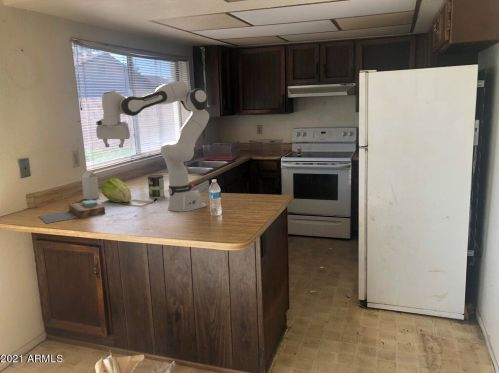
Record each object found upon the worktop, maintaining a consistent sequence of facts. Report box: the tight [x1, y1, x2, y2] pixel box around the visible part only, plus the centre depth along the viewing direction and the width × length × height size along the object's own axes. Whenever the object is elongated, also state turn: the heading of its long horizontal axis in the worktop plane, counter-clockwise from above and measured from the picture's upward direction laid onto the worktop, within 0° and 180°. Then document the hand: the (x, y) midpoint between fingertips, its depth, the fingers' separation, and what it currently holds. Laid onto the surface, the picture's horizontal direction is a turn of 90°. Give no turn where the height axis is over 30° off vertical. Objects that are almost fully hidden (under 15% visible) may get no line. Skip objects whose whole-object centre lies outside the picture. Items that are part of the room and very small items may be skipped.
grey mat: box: [38, 210, 78, 224], centre depth 237 cm, size 16×20×1 cm
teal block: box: [81, 199, 98, 207], centre depth 247 cm, size 6×9×2 cm, turn 37°
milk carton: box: [81, 169, 100, 201], centre depth 283 cm, size 7×7×19 cm
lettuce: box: [101, 177, 132, 203], centre depth 273 cm, size 15×24×16 cm
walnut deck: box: [68, 202, 106, 219], centre depth 246 cm, size 14×22×4 cm, turn 37°
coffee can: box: [147, 174, 165, 199], centre depth 283 cm, size 10×10×14 cm
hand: (114, 147), depth 232 cm, fingers open, 8 cm apart
